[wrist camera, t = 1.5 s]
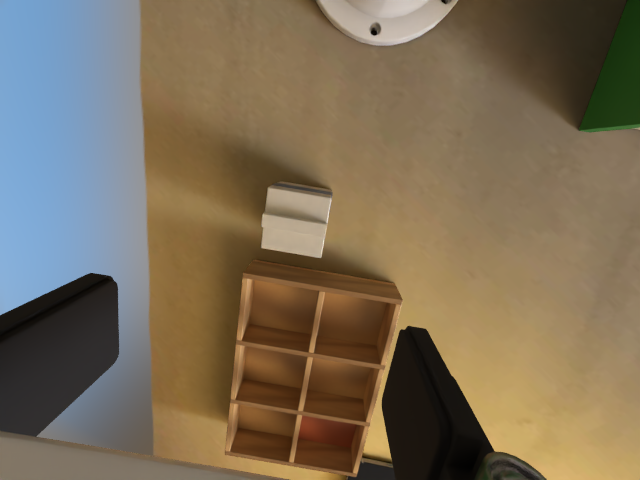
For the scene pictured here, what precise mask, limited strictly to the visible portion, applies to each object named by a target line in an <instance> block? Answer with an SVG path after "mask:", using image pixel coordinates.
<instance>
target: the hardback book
mask: <svg viewBox="0 0 640 480" xmlns="http://www.w3.org/2000/svg"><path fill="white" fill-rule="evenodd" d="M631 128H633V129H639V130H640V0H627V3H626V5H625V8H624V11H623V13H622V16H621V19H620V21H619V24H618V27H617V29H616V32H615V35H614V37H613V40H612V43H611V45H610V48H609V51H608V53H607V56H606V59H605V61H604V64H603V67H602V69H601V72H600V75H599V77H598V80H597V83H596V85H595V88H594V91H593V94H592V96H591V99H590V102H589V104H588V107H587V110H586V112H585V115H584V118H583V120H582V123H581V126H580V128H579V131H585V132H598V131H609V130H620V129H631Z"/></svg>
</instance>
